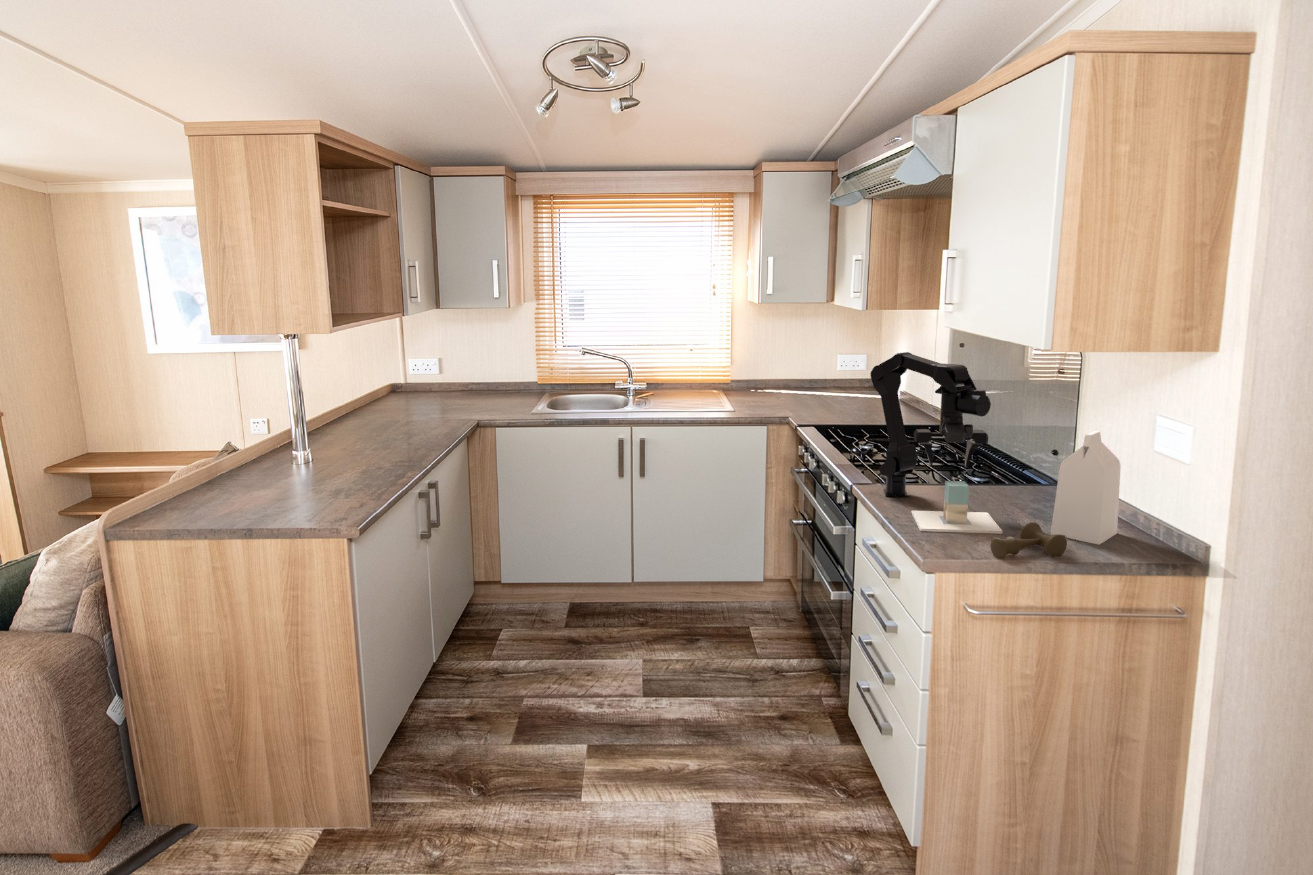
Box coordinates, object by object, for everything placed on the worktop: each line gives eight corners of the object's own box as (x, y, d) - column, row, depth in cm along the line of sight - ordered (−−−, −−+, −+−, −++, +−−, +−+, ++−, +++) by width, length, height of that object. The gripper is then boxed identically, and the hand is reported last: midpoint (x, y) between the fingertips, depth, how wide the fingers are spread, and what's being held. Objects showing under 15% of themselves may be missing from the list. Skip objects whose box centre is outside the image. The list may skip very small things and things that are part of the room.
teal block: (944, 499, 215) (945, 480, 214) (963, 499, 215) (964, 481, 214) (947, 504, 211) (948, 485, 210) (967, 504, 210) (969, 486, 209)
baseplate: (911, 512, 223) (911, 510, 223) (987, 514, 220) (987, 512, 220) (920, 531, 208) (920, 528, 208) (1002, 533, 204) (1002, 530, 204)
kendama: (981, 553, 193) (1048, 541, 198) (1009, 568, 184) (1079, 554, 189) (982, 529, 191) (1050, 518, 197) (1011, 543, 182) (1082, 530, 188)
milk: (1069, 523, 211) (1077, 426, 206) (1117, 533, 203) (1126, 432, 198) (1050, 534, 203) (1058, 433, 198) (1099, 544, 195) (1109, 439, 190)
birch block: (943, 516, 216) (944, 499, 215) (962, 517, 216) (963, 499, 215) (946, 522, 212) (947, 504, 211) (966, 523, 211) (967, 504, 210)
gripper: (920, 416, 213) (918, 473, 217) (994, 416, 210) (991, 474, 214) (914, 409, 224) (912, 463, 227) (985, 409, 221) (981, 464, 224)
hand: (948, 466), depth 223 cm, fingers open, 9 cm apart
